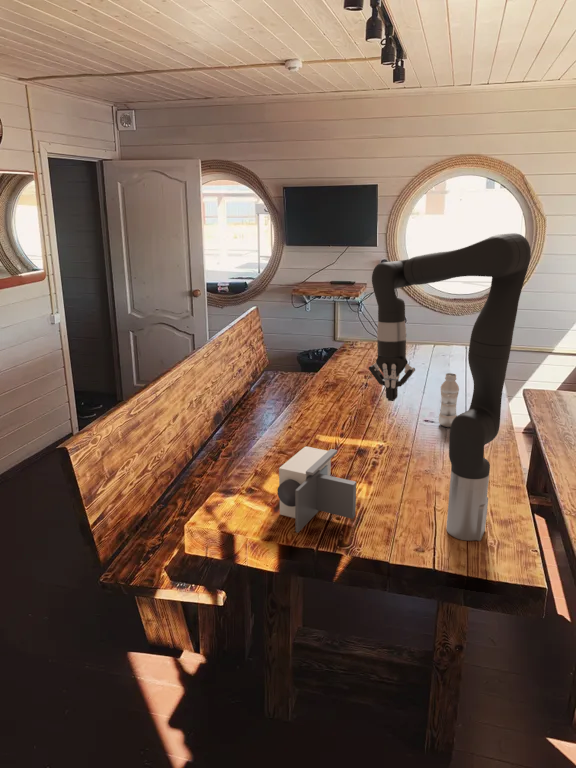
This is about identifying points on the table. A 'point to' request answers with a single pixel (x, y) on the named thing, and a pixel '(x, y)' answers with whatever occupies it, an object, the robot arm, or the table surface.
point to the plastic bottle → (448, 400)
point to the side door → (324, 498)
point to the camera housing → (301, 474)
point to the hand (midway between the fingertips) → (391, 400)
